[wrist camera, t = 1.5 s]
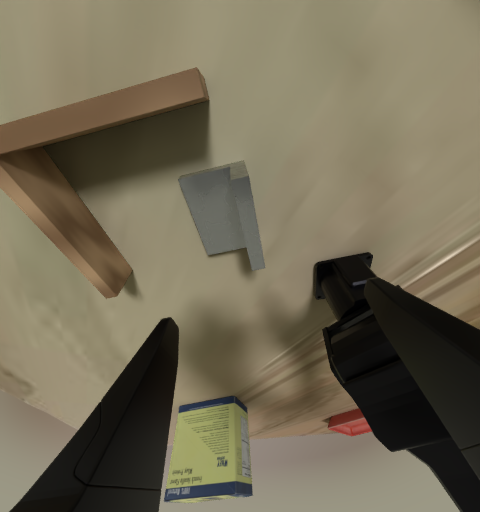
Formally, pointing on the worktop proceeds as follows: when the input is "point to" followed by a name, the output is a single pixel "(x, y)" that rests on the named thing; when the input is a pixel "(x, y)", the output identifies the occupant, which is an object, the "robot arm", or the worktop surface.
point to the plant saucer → (349, 423)
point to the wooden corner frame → (58, 188)
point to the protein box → (210, 453)
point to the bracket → (224, 210)
